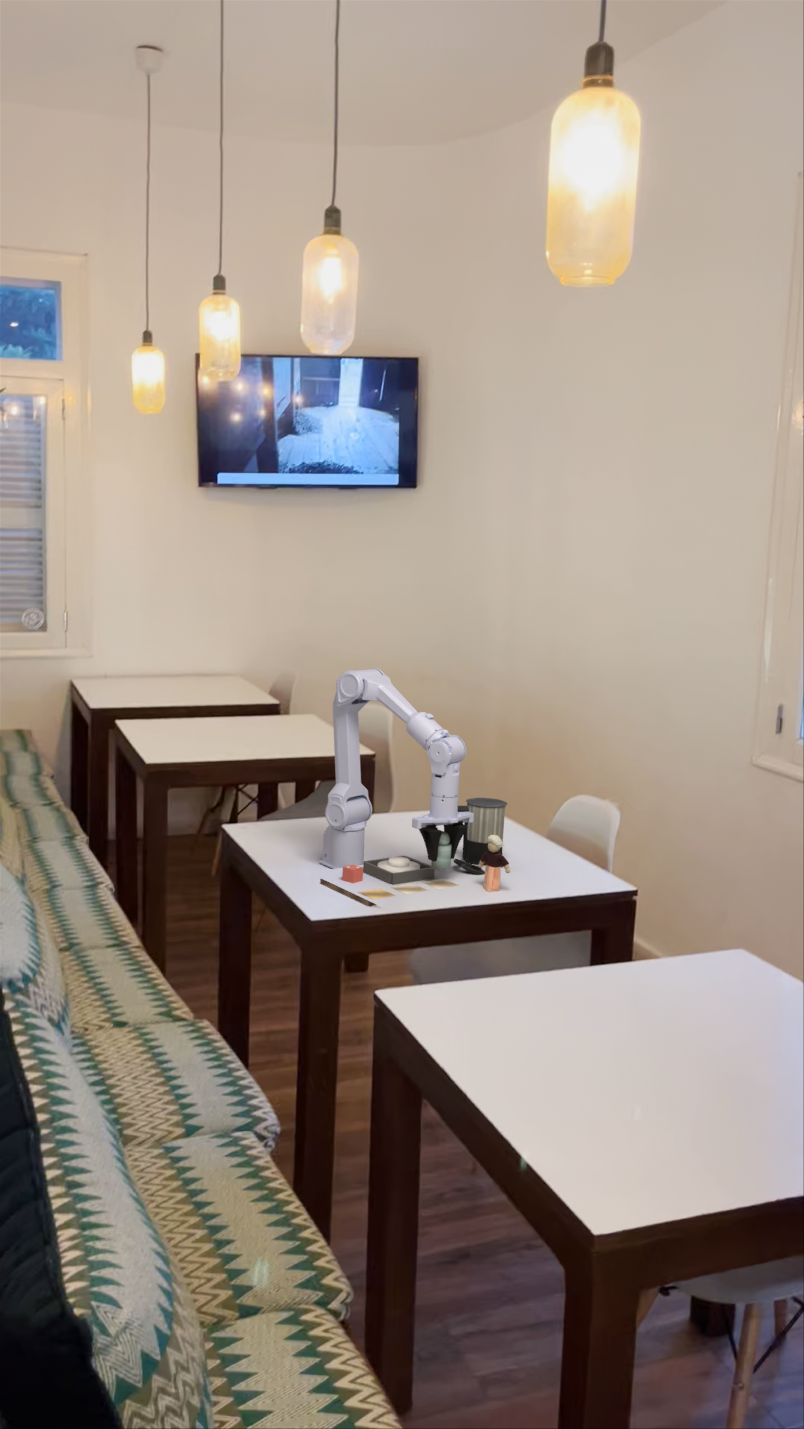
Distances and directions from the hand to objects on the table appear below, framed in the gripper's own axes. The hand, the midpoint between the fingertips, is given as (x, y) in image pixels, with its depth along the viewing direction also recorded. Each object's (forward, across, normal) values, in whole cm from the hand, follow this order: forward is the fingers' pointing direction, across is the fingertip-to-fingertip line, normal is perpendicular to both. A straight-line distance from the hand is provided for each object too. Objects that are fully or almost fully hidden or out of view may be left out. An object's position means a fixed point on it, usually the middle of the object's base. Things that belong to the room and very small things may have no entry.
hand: (441, 858), depth 247 cm
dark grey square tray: (+6, -4, +9) cm, 12 cm away
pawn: (+2, 0, 0) cm, 2 cm away
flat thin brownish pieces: (+6, -8, +6) cm, 12 cm away
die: (+7, -15, +10) cm, 19 cm away
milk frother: (+7, +17, +8) cm, 20 cm away
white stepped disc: (+5, -4, +9) cm, 11 cm away
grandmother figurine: (+7, +7, -9) cm, 13 cm away
